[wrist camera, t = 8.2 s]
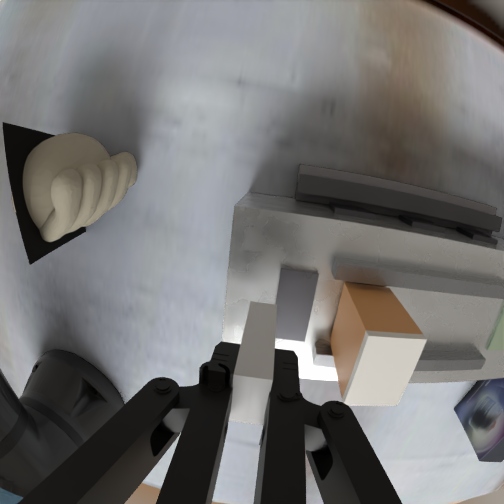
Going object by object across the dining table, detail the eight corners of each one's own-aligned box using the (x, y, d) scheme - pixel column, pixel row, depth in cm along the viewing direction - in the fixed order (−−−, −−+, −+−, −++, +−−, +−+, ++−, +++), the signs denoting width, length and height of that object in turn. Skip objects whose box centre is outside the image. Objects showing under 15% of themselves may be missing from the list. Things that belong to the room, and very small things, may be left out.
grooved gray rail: (295, 197, 26) (296, 201, 24) (299, 164, 25) (301, 164, 23) (483, 233, 25) (497, 239, 23) (489, 205, 24) (503, 210, 22)
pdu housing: (234, 317, 30) (216, 378, 21) (248, 187, 26) (231, 202, 17) (475, 338, 29) (514, 385, 20) (508, 236, 25) (564, 263, 16)
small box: (498, 348, 29) (539, 396, 19) (519, 359, 29) (556, 402, 19) (450, 409, 32) (478, 463, 22) (475, 415, 32) (501, 463, 22)
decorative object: (133, 117, 27) (152, 213, 30) (44, 147, 26) (63, 237, 29) (98, 81, 15) (127, 237, 18) (-25, 137, 14) (1, 273, 16)
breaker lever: (329, 340, 21) (343, 405, 14) (344, 282, 19) (368, 335, 13) (372, 344, 20) (397, 405, 14) (389, 287, 19) (426, 339, 13)
